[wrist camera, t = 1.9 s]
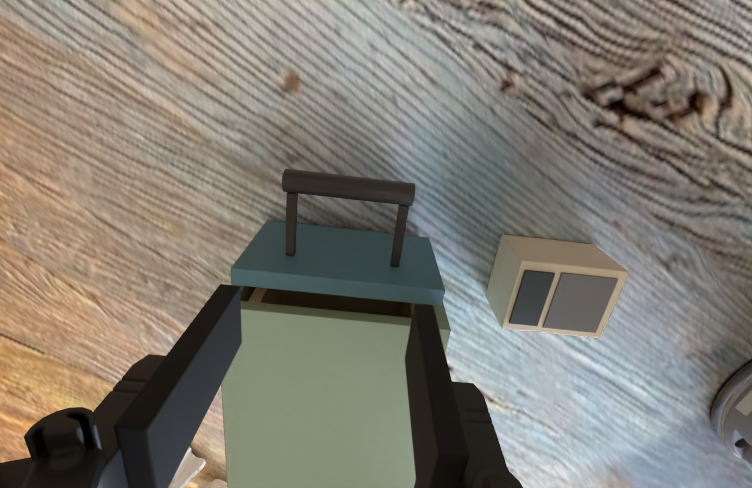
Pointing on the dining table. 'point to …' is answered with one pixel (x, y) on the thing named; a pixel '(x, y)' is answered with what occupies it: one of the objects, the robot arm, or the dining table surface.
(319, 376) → the cabinet
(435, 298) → the drawer
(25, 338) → the dining table surface
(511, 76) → the dining table surface
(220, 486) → the shaker set
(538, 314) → the cream box
